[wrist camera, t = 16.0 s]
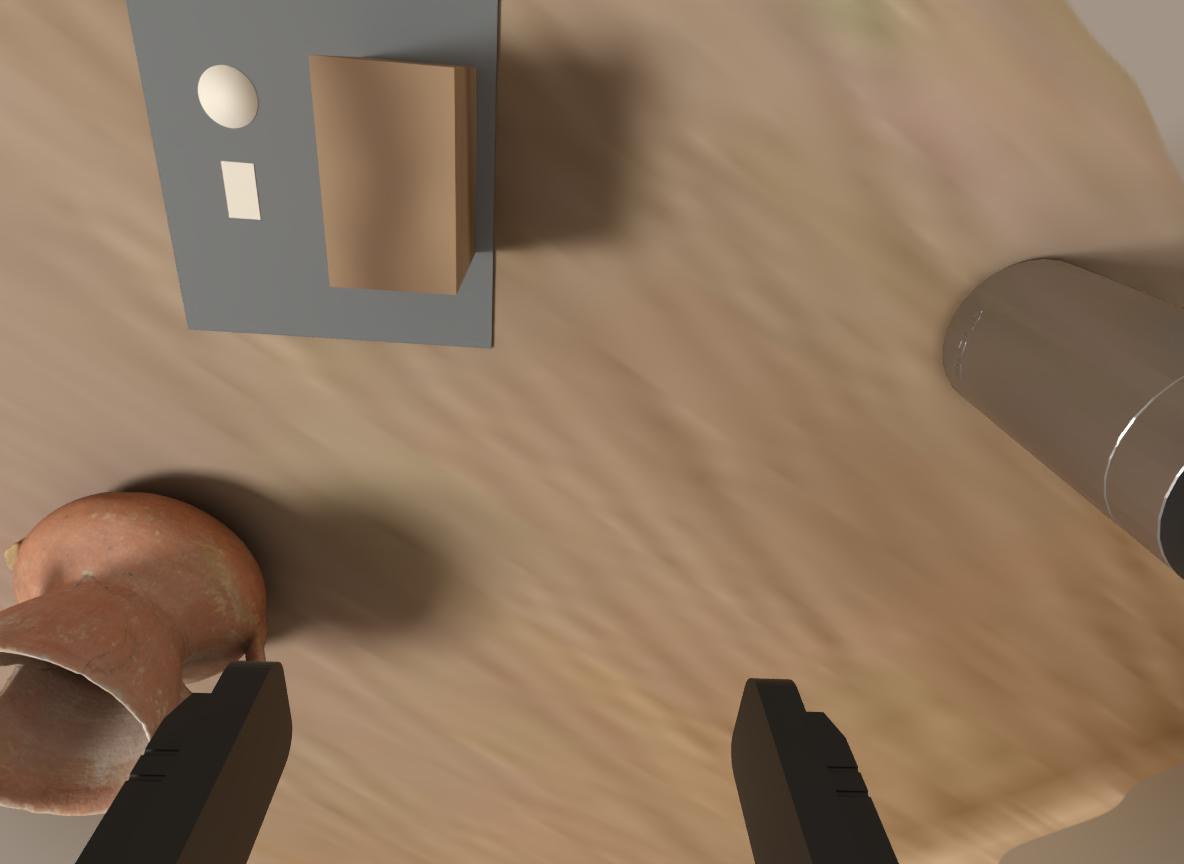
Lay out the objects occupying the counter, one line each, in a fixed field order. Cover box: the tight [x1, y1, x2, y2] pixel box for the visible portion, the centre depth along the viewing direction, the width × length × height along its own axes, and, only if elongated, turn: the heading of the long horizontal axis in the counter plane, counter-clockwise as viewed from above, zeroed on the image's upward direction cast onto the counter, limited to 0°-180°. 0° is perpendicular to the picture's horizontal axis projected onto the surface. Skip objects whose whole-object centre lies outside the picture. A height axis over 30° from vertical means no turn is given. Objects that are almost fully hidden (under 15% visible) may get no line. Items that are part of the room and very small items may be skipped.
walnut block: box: [308, 55, 477, 295], centre depth 33 cm, size 6×9×8 cm, turn 175°
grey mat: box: [126, 0, 498, 348], centre depth 36 cm, size 17×20×1 cm
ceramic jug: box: [0, 492, 268, 816], centre depth 41 cm, size 18×14×14 cm
